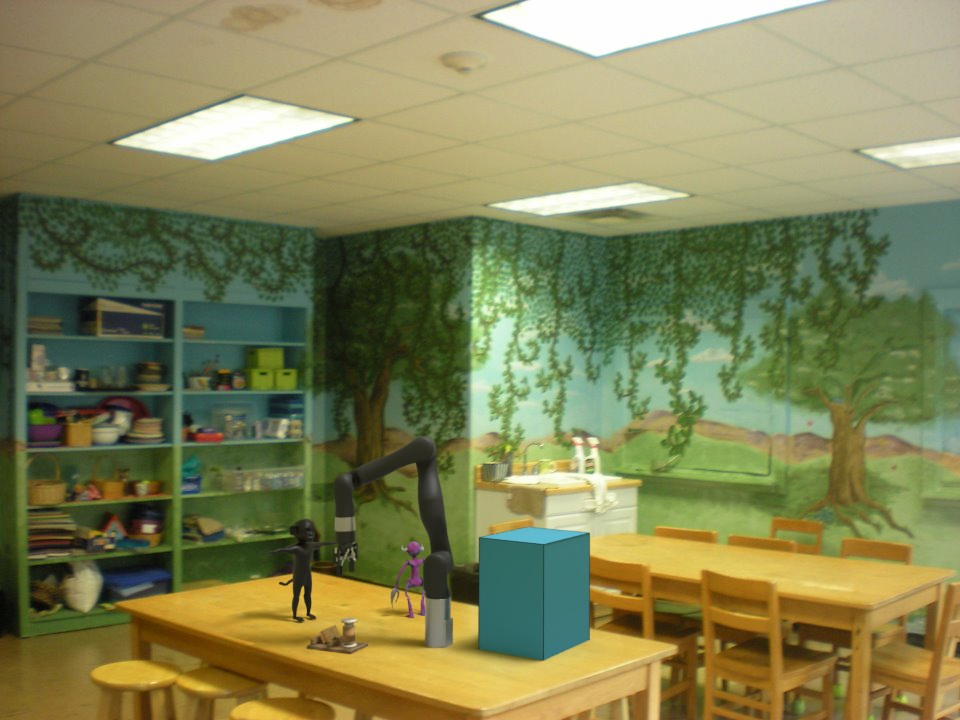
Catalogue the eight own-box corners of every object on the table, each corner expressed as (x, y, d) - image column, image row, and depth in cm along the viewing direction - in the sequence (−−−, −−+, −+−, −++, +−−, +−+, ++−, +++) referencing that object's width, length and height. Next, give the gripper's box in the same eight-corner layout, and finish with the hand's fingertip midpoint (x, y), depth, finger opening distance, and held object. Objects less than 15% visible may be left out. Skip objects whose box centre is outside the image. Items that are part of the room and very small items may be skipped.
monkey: (271, 630, 374) (273, 525, 375) (238, 622, 387) (240, 520, 388) (348, 612, 404) (349, 515, 405) (316, 605, 417) (316, 511, 418)
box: (478, 651, 346) (478, 537, 347) (527, 632, 374) (527, 526, 375) (543, 663, 331) (543, 544, 332) (589, 642, 359) (590, 532, 360)
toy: (425, 610, 409) (426, 538, 410) (438, 614, 402) (439, 540, 403) (387, 617, 397) (388, 542, 398) (400, 621, 390) (400, 545, 391)
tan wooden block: (328, 641, 353) (341, 635, 351) (323, 644, 350) (335, 637, 348) (323, 630, 354) (336, 623, 352) (318, 632, 351) (330, 626, 349)
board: (368, 646, 351) (368, 617, 351) (350, 654, 340) (351, 624, 340) (325, 641, 358) (325, 612, 359) (307, 649, 347) (307, 619, 348)
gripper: (344, 532, 349) (345, 578, 348) (363, 526, 362) (364, 571, 362) (325, 531, 352) (326, 577, 351) (346, 526, 365) (346, 570, 364)
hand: (345, 573), depth 356 cm, fingers open, 8 cm apart
